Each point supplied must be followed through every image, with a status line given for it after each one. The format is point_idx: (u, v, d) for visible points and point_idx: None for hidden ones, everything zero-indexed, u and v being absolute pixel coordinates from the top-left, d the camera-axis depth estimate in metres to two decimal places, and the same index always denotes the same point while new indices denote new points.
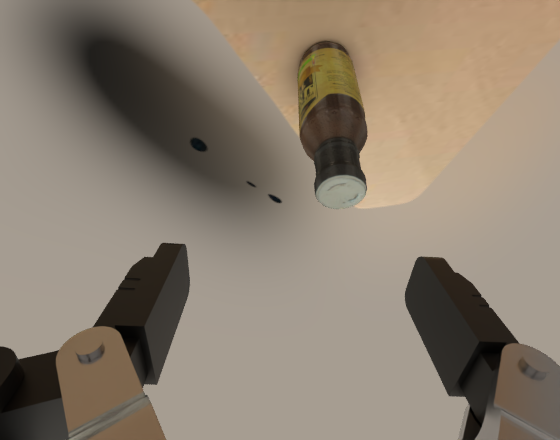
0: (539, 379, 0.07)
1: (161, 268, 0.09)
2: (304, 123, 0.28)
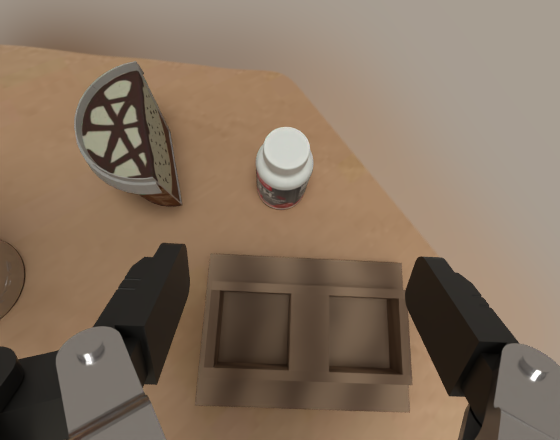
0: (539, 379, 0.07)
1: (161, 268, 0.09)
2: None
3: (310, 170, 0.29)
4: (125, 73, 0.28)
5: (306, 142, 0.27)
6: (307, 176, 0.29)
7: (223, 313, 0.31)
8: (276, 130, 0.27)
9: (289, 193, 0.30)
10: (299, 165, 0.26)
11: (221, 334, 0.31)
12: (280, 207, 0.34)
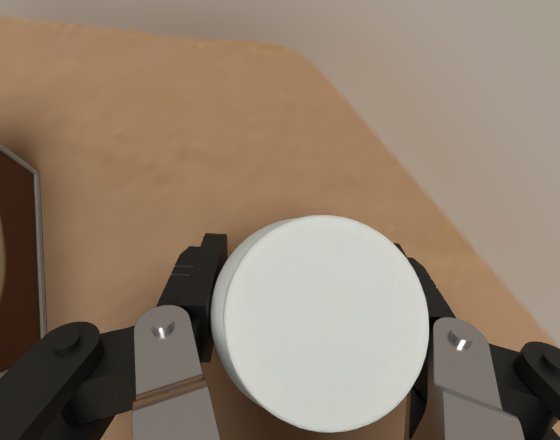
0: (462, 347, 0.07)
1: (210, 255, 0.10)
2: None
3: None
4: None
5: (412, 287, 0.06)
6: None
7: None
8: (281, 233, 0.06)
9: None
10: (389, 408, 0.06)
11: None
12: None
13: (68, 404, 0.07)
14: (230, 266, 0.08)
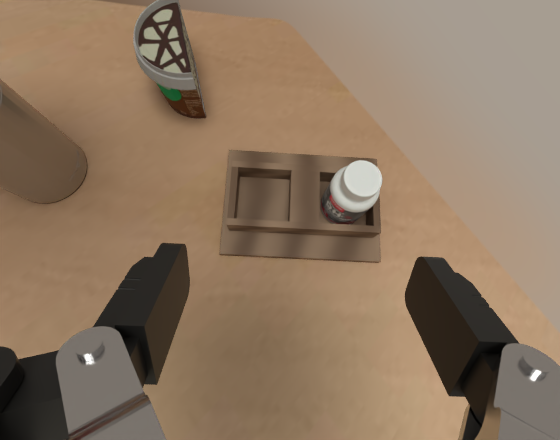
0: (539, 379, 0.07)
1: (161, 268, 0.09)
2: None
3: (378, 195, 0.34)
4: (168, 4, 0.38)
5: (379, 173, 0.32)
6: (375, 200, 0.34)
7: (239, 191, 0.41)
8: (353, 163, 0.32)
9: (358, 214, 0.35)
10: (374, 193, 0.31)
11: (238, 206, 0.40)
12: None
13: None
14: (336, 175, 0.34)
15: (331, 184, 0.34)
